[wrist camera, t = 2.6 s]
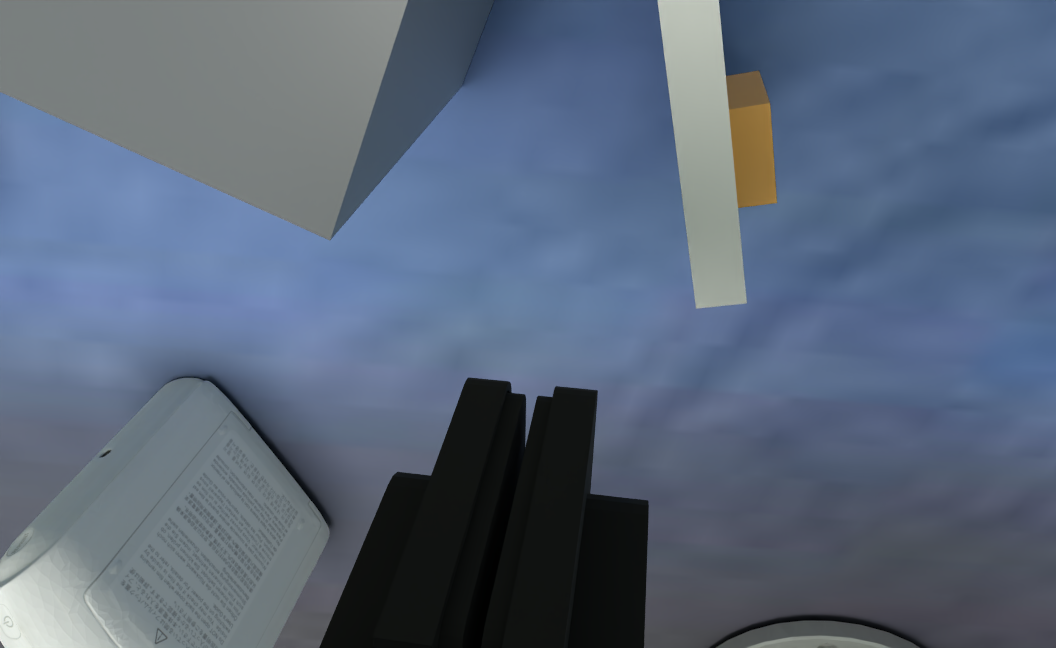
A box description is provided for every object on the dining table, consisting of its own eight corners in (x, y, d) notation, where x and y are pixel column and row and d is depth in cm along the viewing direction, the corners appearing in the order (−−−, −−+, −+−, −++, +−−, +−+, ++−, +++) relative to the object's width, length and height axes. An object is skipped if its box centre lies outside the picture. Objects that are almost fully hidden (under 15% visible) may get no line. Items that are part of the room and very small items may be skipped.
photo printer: (136, 393, 36) (-87, 623, 26) (207, 359, 35) (1, 589, 24) (278, 555, 40) (135, 812, 29) (348, 531, 38) (223, 794, 28)
